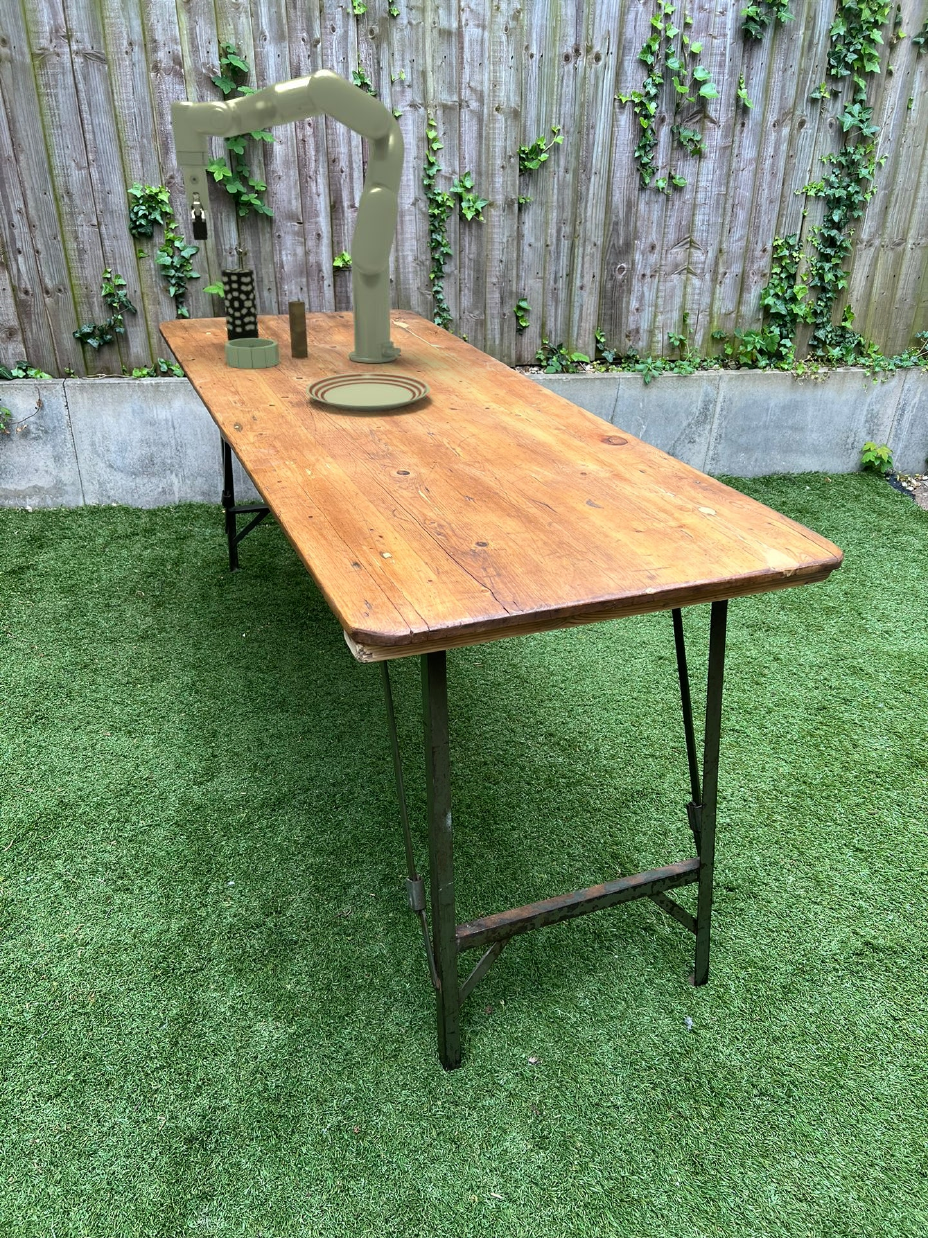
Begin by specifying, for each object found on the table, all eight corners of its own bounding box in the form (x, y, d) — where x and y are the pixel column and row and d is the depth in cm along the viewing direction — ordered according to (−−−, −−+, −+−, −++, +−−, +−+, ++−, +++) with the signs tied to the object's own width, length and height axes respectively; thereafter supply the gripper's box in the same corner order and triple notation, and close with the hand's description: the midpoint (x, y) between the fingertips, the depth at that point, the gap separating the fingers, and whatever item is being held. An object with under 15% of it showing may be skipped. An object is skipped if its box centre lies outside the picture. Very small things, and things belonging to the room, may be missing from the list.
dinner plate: (412, 421, 190) (412, 406, 188) (288, 412, 194) (287, 396, 193) (441, 391, 214) (441, 376, 212) (330, 382, 218) (329, 368, 217)
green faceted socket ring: (289, 362, 236) (288, 342, 234) (252, 370, 226) (250, 350, 224) (253, 355, 242) (252, 336, 240) (216, 363, 233) (214, 343, 230)
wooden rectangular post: (307, 356, 242) (304, 301, 236) (300, 358, 240) (296, 303, 234) (299, 355, 244) (296, 300, 237) (291, 357, 242) (288, 301, 235)
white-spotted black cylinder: (255, 351, 247) (249, 273, 238) (225, 350, 247) (217, 272, 238) (262, 344, 255) (256, 269, 245) (232, 344, 255) (225, 268, 245)
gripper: (208, 161, 210) (216, 241, 218) (208, 159, 225) (216, 234, 233) (175, 161, 209) (184, 241, 216) (177, 159, 223) (186, 234, 231)
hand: (201, 237), depth 225 cm, fingers open, 9 cm apart
